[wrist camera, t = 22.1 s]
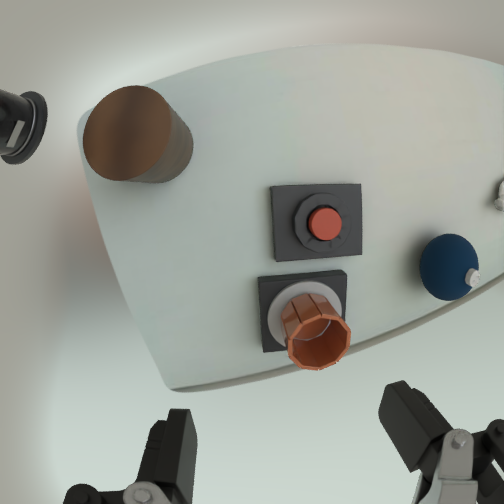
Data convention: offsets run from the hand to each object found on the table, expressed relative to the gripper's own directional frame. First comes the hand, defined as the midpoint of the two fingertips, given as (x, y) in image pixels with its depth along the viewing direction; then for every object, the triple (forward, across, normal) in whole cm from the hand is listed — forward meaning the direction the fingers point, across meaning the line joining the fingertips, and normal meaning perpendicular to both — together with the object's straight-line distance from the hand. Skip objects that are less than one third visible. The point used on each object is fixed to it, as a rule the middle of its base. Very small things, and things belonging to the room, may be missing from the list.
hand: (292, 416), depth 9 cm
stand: (+23, +10, -14) cm, 29 cm away
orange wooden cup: (+20, -6, +6) cm, 21 cm away
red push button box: (+22, -7, -5) cm, 24 cm away
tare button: (+20, -7, -5) cm, 22 cm away
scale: (+22, -6, +6) cm, 24 cm away
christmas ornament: (+22, -24, +1) cm, 33 cm away
